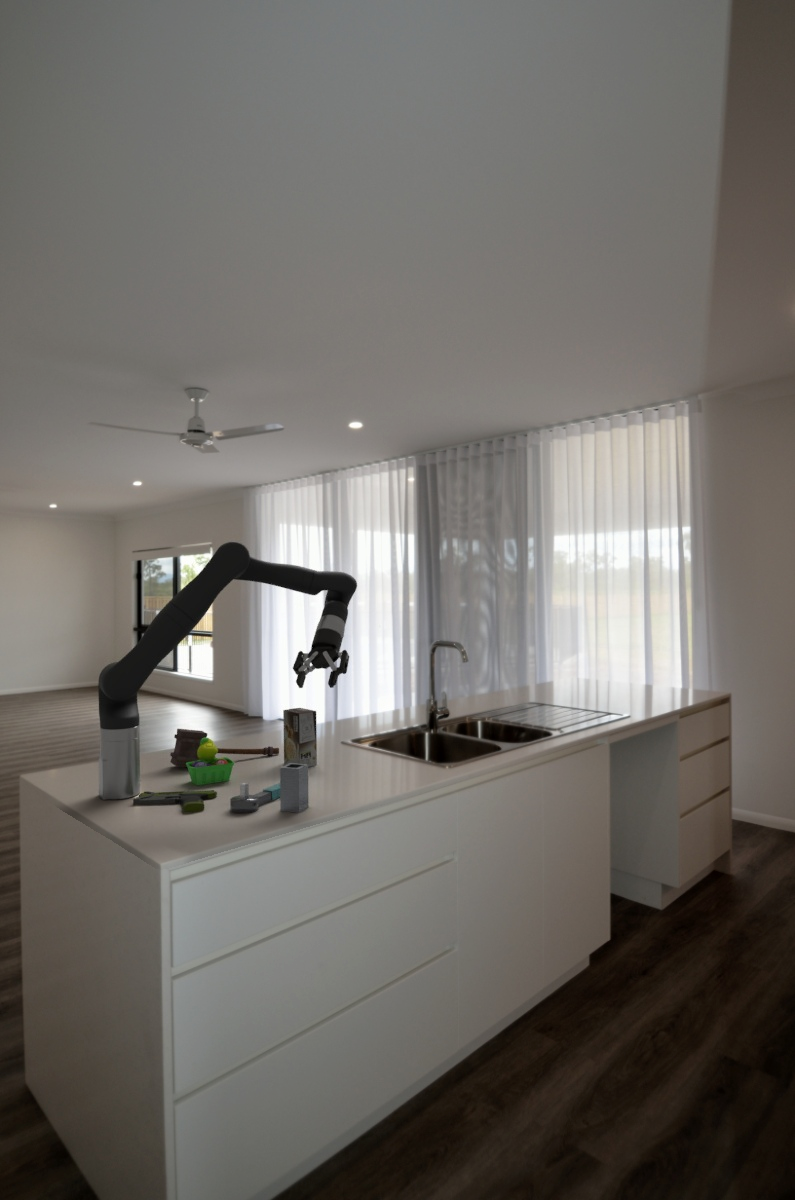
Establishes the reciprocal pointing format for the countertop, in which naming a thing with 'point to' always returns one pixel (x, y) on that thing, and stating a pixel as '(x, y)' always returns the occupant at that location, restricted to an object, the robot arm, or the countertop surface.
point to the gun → (177, 799)
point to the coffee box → (300, 736)
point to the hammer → (191, 741)
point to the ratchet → (252, 798)
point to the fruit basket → (209, 765)
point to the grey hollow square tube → (294, 787)
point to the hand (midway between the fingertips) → (315, 686)
